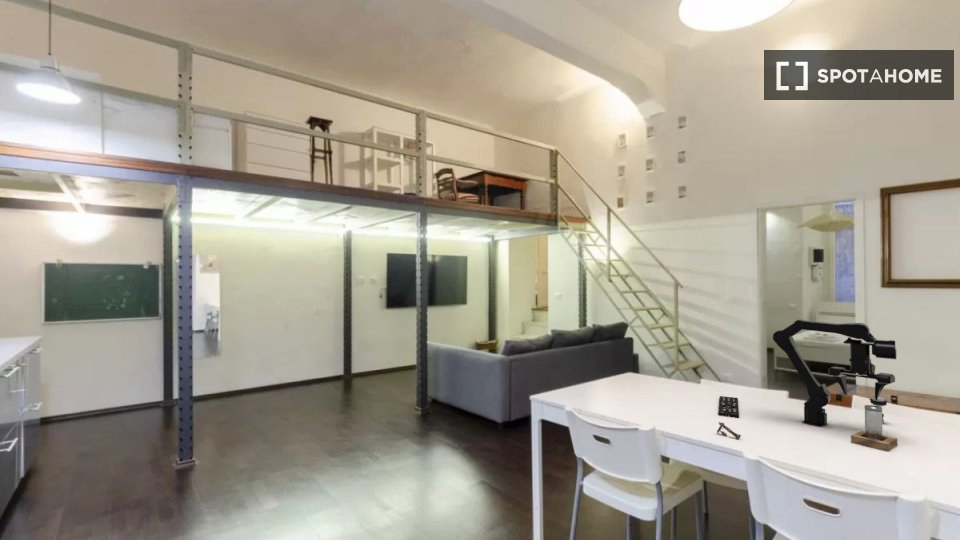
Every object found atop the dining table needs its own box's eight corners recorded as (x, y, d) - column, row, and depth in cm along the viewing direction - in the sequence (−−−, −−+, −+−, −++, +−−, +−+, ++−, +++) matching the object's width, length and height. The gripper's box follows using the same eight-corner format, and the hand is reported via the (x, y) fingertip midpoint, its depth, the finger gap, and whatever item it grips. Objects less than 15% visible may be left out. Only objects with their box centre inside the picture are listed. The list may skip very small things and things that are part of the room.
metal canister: (861, 441, 160) (860, 405, 160) (874, 441, 160) (873, 404, 160) (873, 446, 155) (872, 408, 155) (886, 446, 155) (886, 408, 155)
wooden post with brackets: (716, 429, 170) (720, 420, 169) (736, 444, 164) (741, 434, 162) (713, 430, 169) (718, 421, 168) (733, 445, 163) (738, 435, 161)
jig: (851, 442, 159) (851, 435, 159) (861, 437, 164) (861, 430, 164) (888, 451, 150) (887, 444, 150) (897, 445, 156) (897, 438, 156)
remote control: (718, 417, 190) (718, 412, 190) (719, 399, 218) (719, 395, 218) (739, 419, 187) (739, 414, 187) (737, 401, 214) (737, 397, 214)
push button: (887, 426, 176) (886, 400, 176) (869, 423, 180) (868, 398, 180) (888, 422, 181) (887, 397, 181) (870, 419, 184) (870, 395, 185)
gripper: (899, 357, 167) (900, 399, 167) (838, 351, 183) (839, 389, 182) (889, 360, 161) (890, 404, 160) (827, 353, 176) (828, 393, 176)
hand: (860, 397), depth 170 cm, fingers open, 9 cm apart
